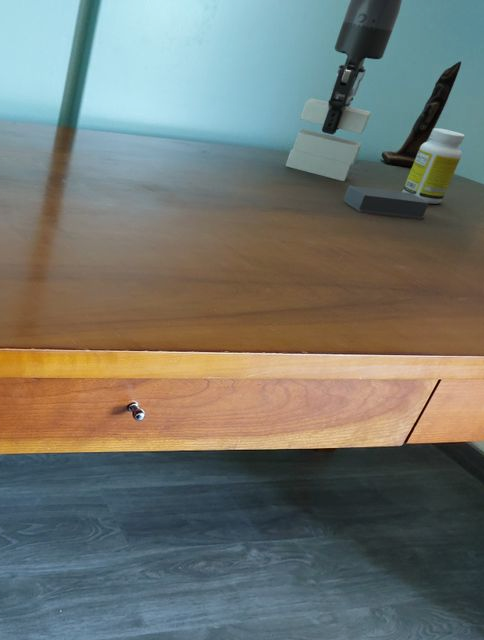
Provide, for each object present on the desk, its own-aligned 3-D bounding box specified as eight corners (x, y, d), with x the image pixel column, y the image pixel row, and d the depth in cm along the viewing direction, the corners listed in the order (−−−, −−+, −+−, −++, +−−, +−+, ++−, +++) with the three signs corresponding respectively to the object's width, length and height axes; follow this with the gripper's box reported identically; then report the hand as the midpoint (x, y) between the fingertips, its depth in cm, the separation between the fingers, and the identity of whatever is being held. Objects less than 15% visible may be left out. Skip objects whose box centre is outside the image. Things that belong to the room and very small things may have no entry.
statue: (378, 158, 146) (419, 53, 137) (413, 164, 146) (457, 59, 137) (385, 164, 143) (429, 56, 133) (421, 170, 143) (467, 62, 133)
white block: (364, 129, 124) (371, 111, 122) (361, 133, 119) (368, 115, 118) (305, 115, 127) (311, 98, 126) (300, 119, 123) (306, 101, 121)
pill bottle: (445, 202, 122) (474, 135, 116) (434, 207, 117) (464, 138, 112) (407, 190, 125) (434, 125, 120) (395, 195, 121) (423, 127, 115)
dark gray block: (402, 219, 108) (413, 193, 106) (419, 230, 104) (431, 203, 102) (338, 211, 106) (348, 185, 104) (353, 222, 102) (364, 195, 100)
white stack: (348, 177, 127) (361, 143, 124) (346, 182, 124) (359, 146, 121) (289, 162, 131) (301, 128, 128) (285, 166, 127) (296, 131, 124)
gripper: (390, 28, 109) (348, 142, 117) (395, 27, 120) (357, 130, 128) (338, 19, 111) (301, 130, 119) (349, 18, 123) (314, 120, 131)
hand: (330, 130), depth 124 cm, fingers closed on white block, 5 cm apart
